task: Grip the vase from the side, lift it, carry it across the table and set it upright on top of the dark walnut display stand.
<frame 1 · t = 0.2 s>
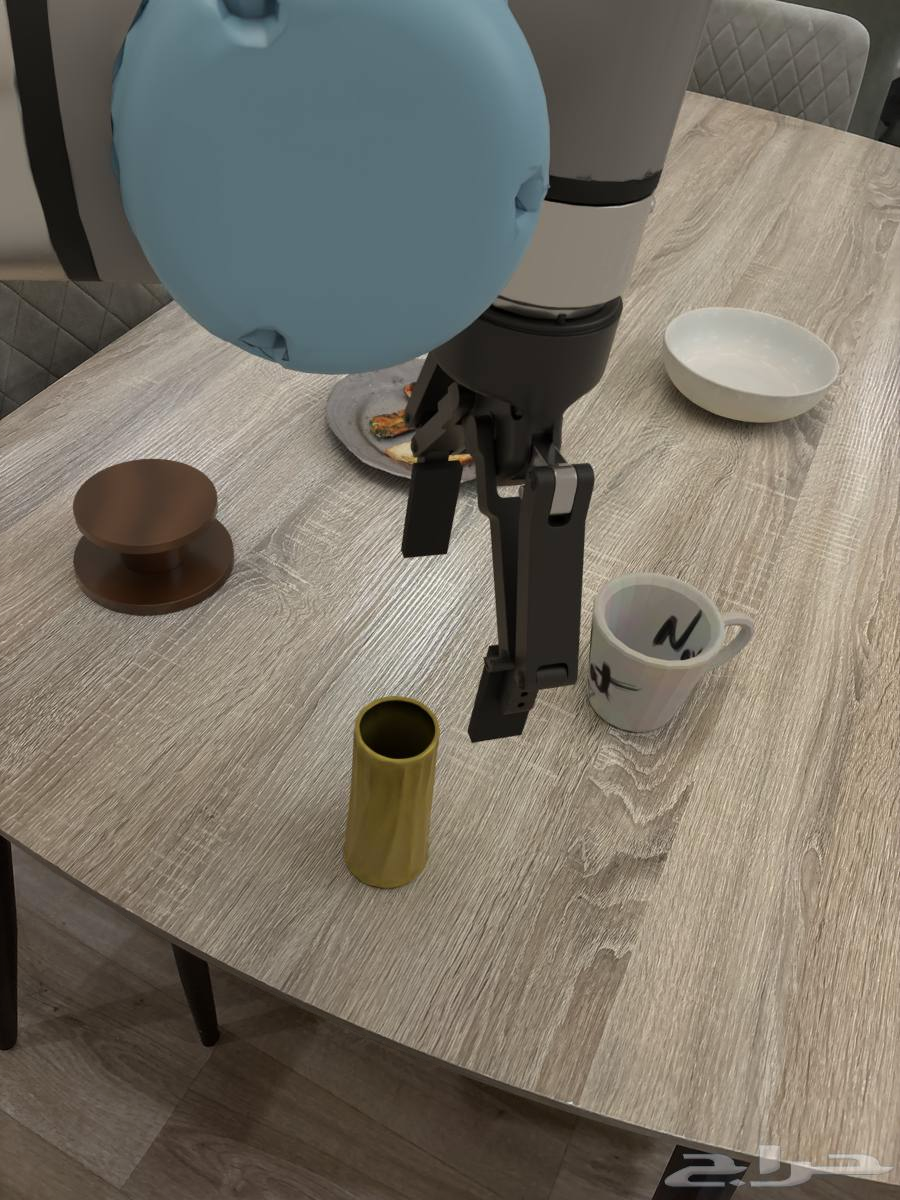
hand: (456, 635, 52), 22 cm above the table, tool pointing down, fingers open, 13 cm apart
mug: (653, 695, 81), on the table
basket: (407, 261, 136), on the table
stand: (156, 561, 86), on the table
vase: (386, 851, 67), on the table
fork: (593, 272, 139), on the table
serving bowl: (733, 398, 117), on the table
food plate: (438, 431, 106), on the table
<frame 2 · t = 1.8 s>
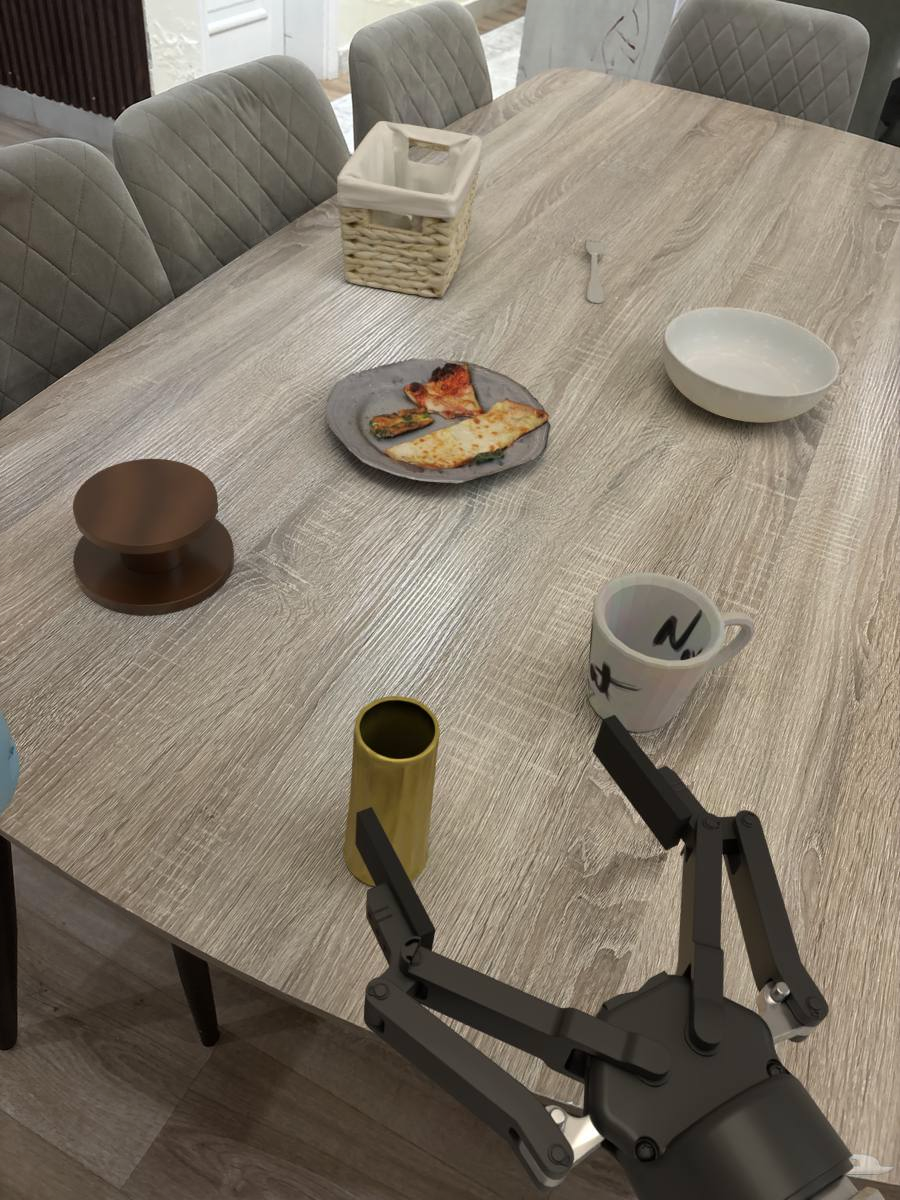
hand: (489, 776, 46), 22 cm above the table, tool horizontal, fingers open, 13 cm apart
nothing on the table moved.
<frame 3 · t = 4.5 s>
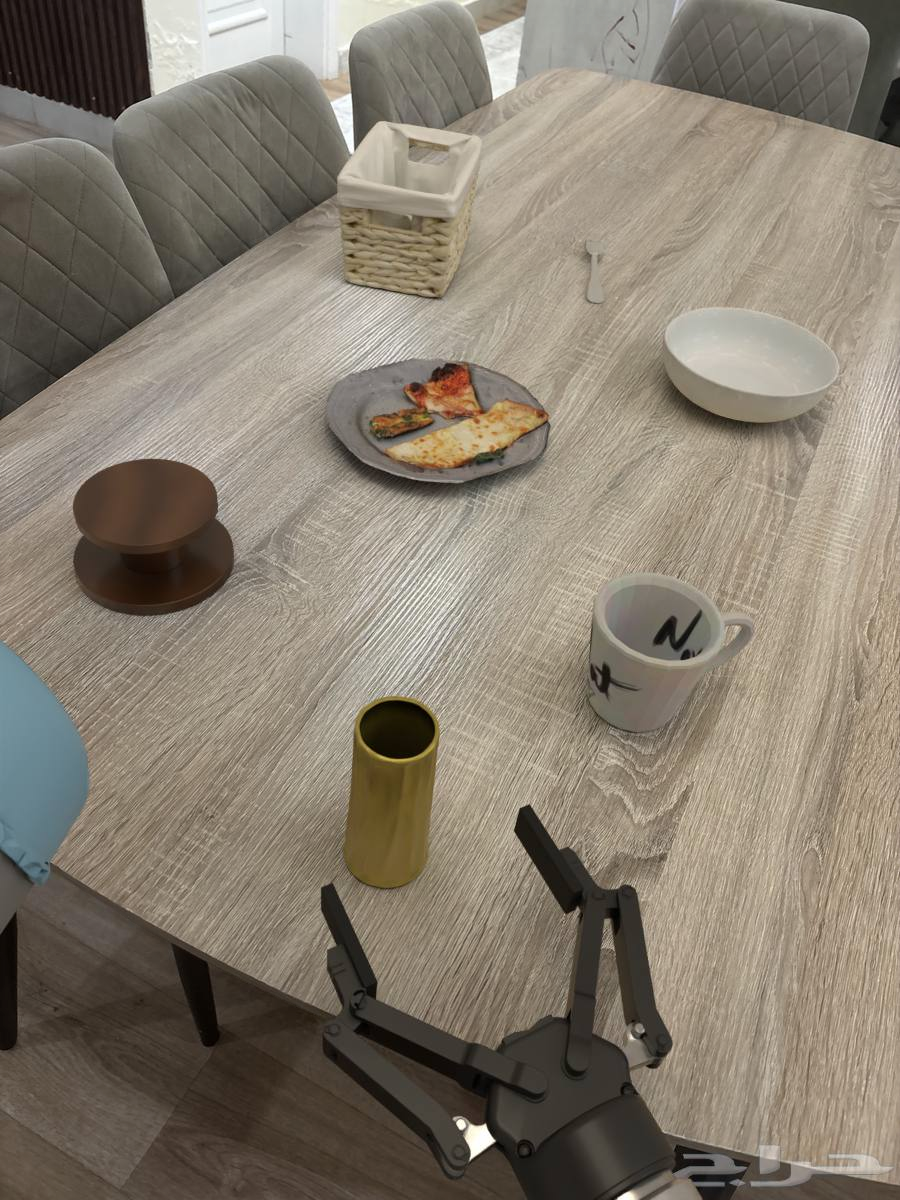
hand: (428, 854, 59), 8 cm above the table, tool horizontal, fingers open, 13 cm apart
nothing on the table moved.
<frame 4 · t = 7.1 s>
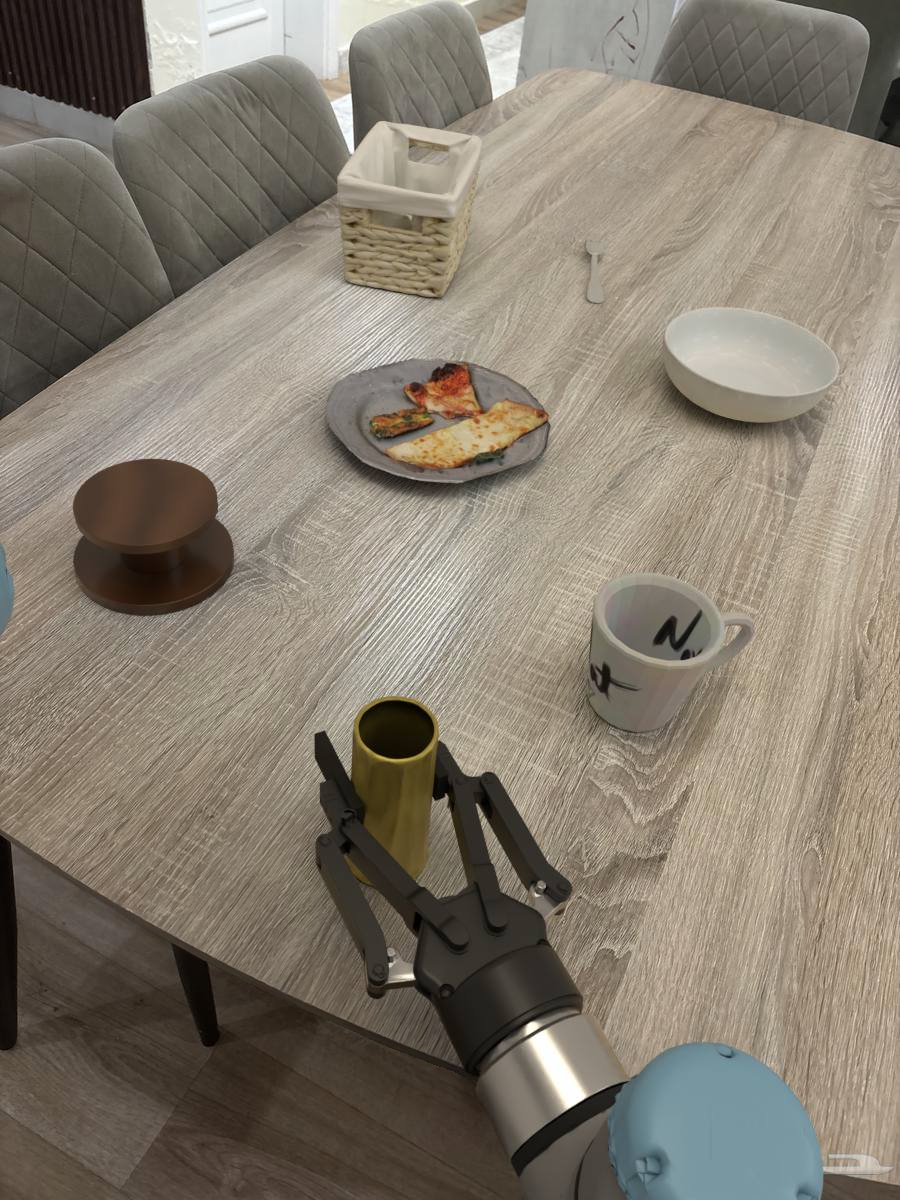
hand: (360, 730, 65), 8 cm above the table, tool horizontal, fingers closed on vase, 5 cm apart
vase: (386, 851, 67), on the table, touching gripper
everything else where it was.
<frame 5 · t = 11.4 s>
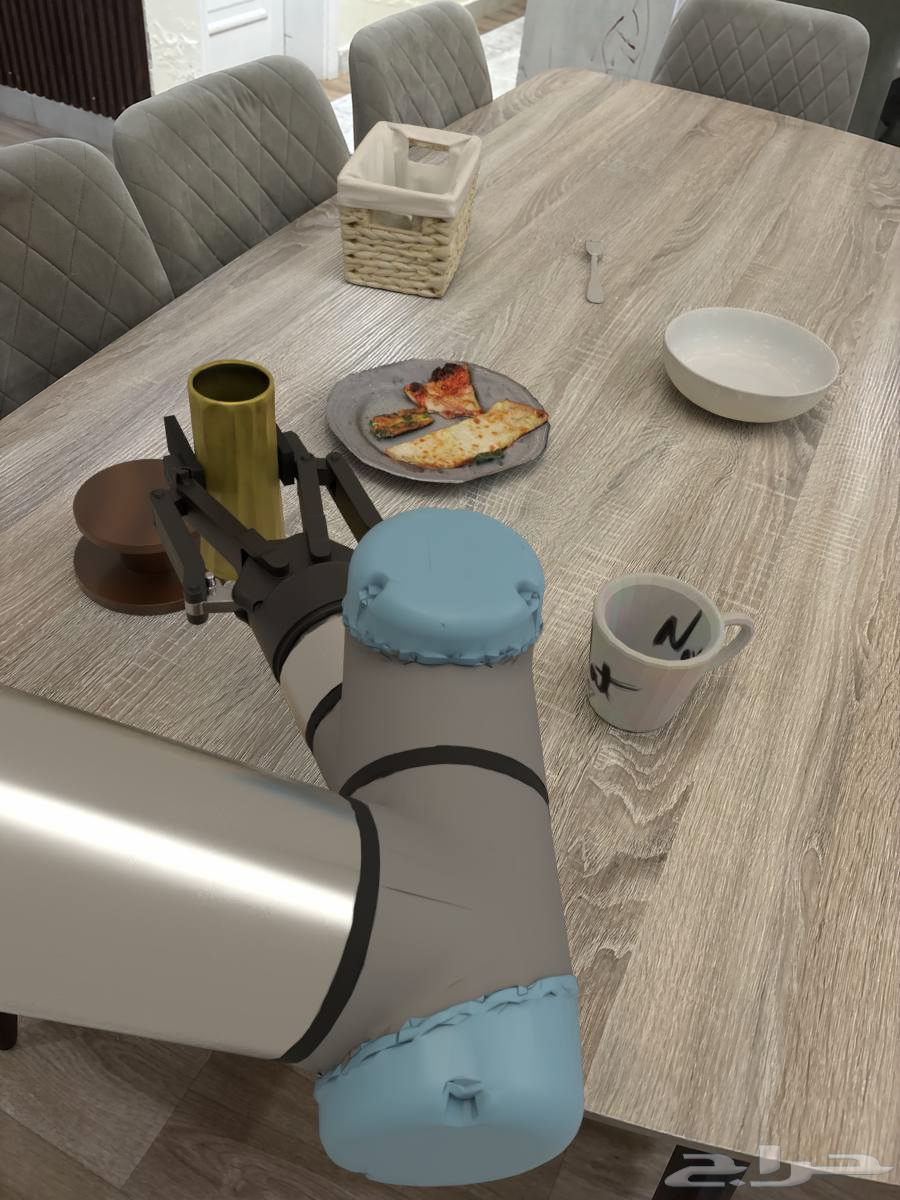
hand: (215, 424, 65), 22 cm above the table, tool horizontal, fingers closed on vase, 5 cm apart
vase: (244, 556, 67), point 14 cm above the table, touching gripper
everything else where it was.
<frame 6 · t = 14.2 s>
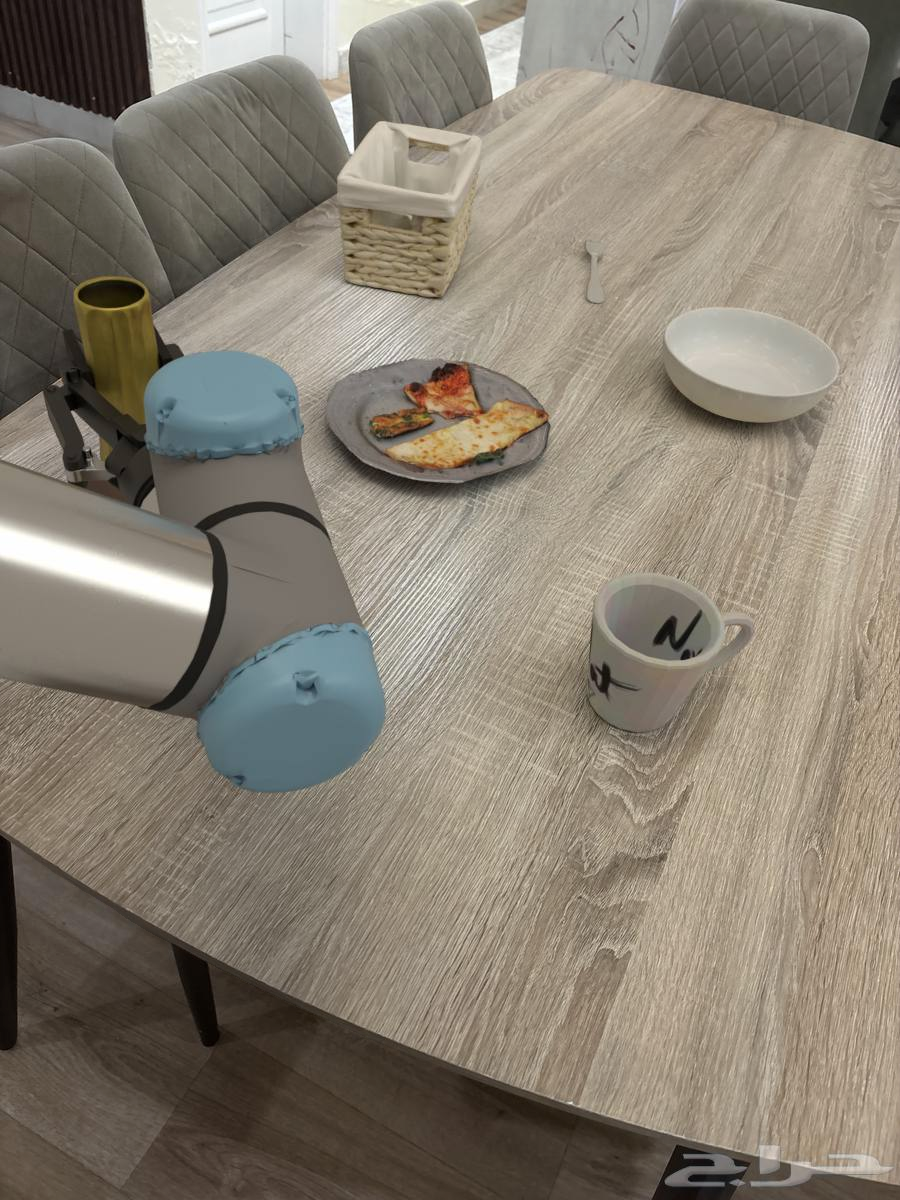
hand: (109, 339, 76), 20 cm above the table, tool horizontal, fingers closed on vase, 5 cm apart
vase: (139, 455, 78), point 12 cm above the table, touching gripper
everything else where it was.
when the fingers open (15 cm above the table, at t = 15.9 s): vase stays where it is, resting on stand.
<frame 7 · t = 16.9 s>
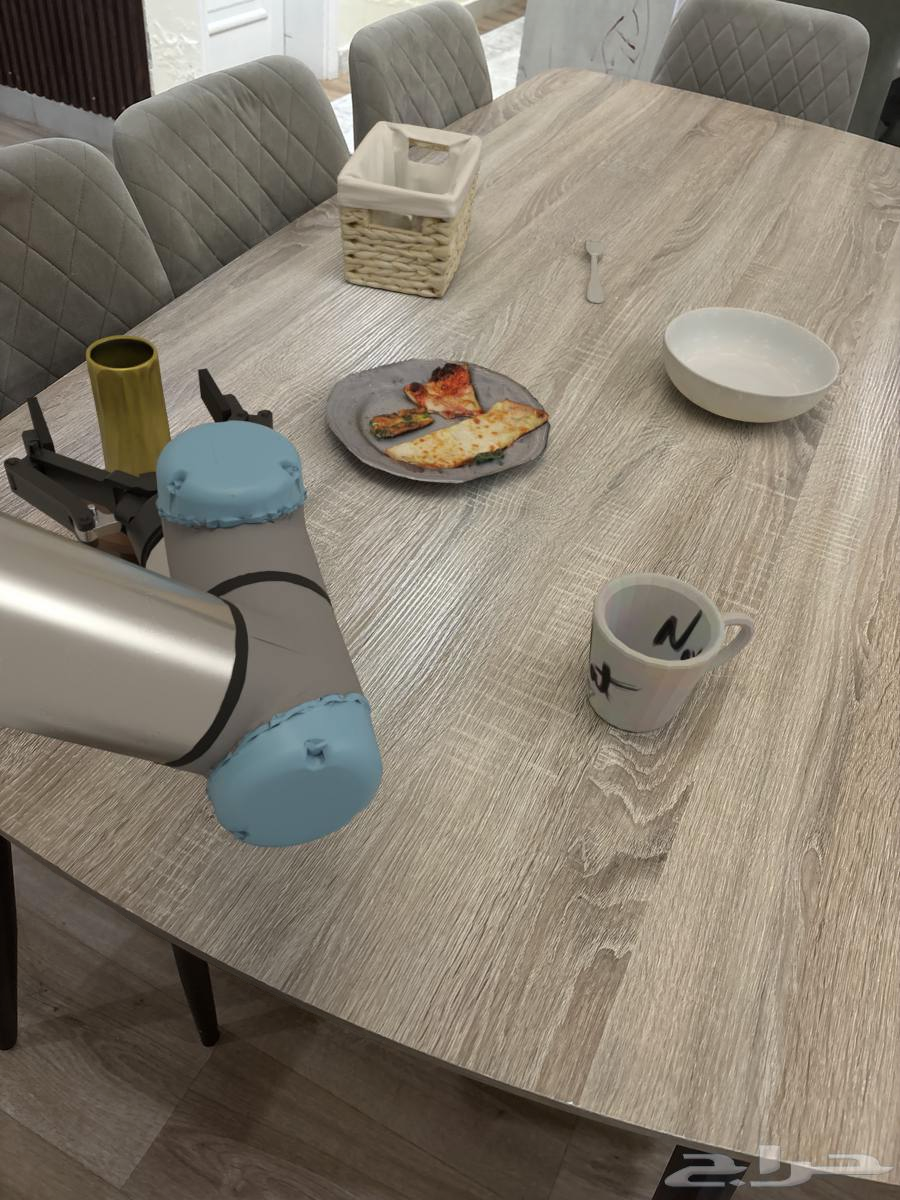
hand: (122, 396, 77), 16 cm above the table, tool horizontal, fingers open, 13 cm apart
vase: (146, 501, 81), point 7 cm above the table, touching stand
everything else where it was.
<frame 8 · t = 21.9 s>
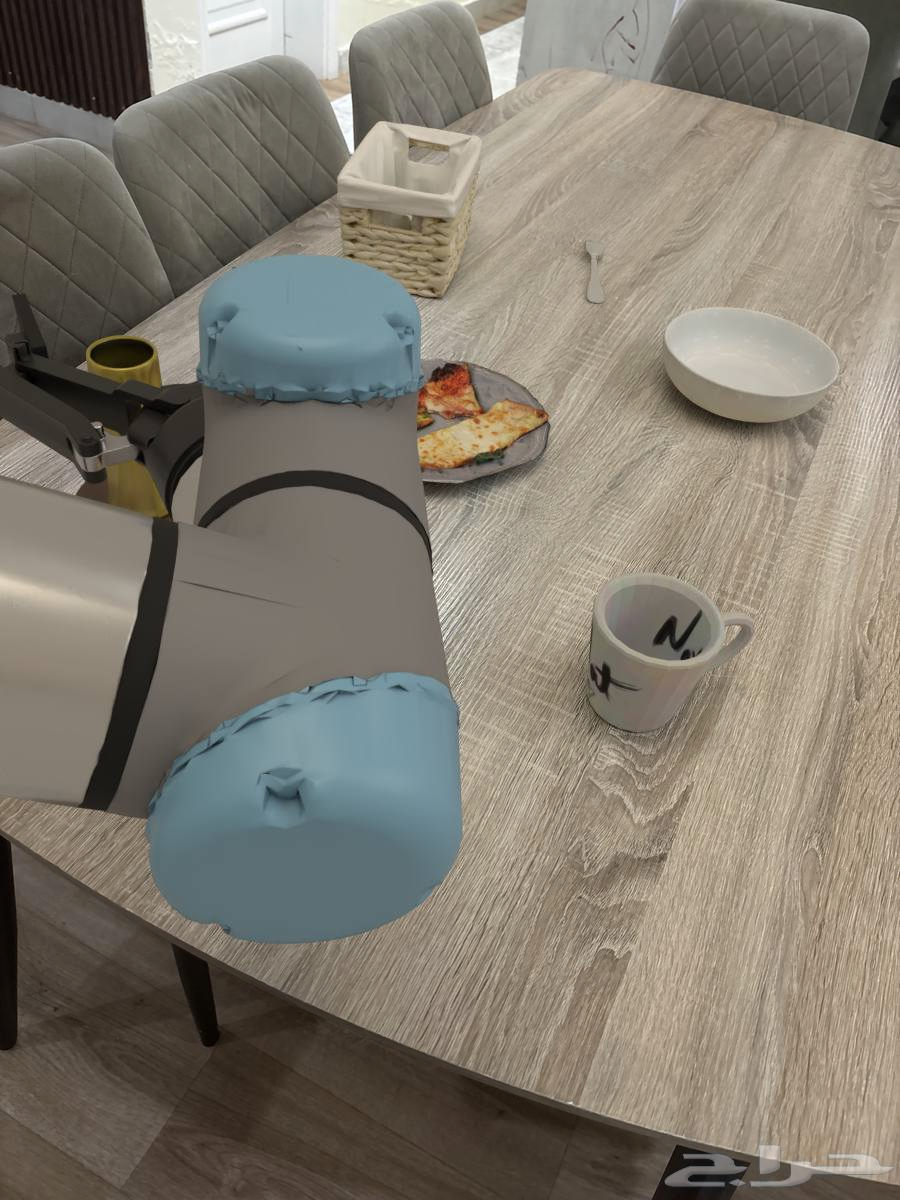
hand: (135, 299, 60), 30 cm above the table, tool horizontal, fingers open, 13 cm apart
nothing on the table moved.
at the end: vase 0.0 cm off-centre on the stand, point 7.0 cm above the stand's base; vase tilted 0°; the gripper is holding nothing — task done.
